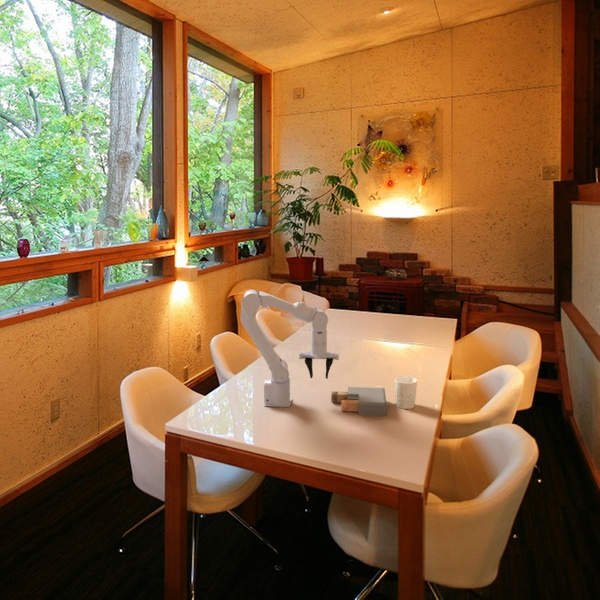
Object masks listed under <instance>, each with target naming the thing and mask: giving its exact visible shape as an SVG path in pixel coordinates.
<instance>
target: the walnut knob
mask: <svg viewBox="0 0 600 600" xmlns="http://www.w3.org/2000/svg"><path fill="white" fill-rule="evenodd" d="M347 397H348V391H337V390H336V391H334V390H333V391H331V402H332V403H335V402H336V403H341V401H342V400H347Z"/></svg>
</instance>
